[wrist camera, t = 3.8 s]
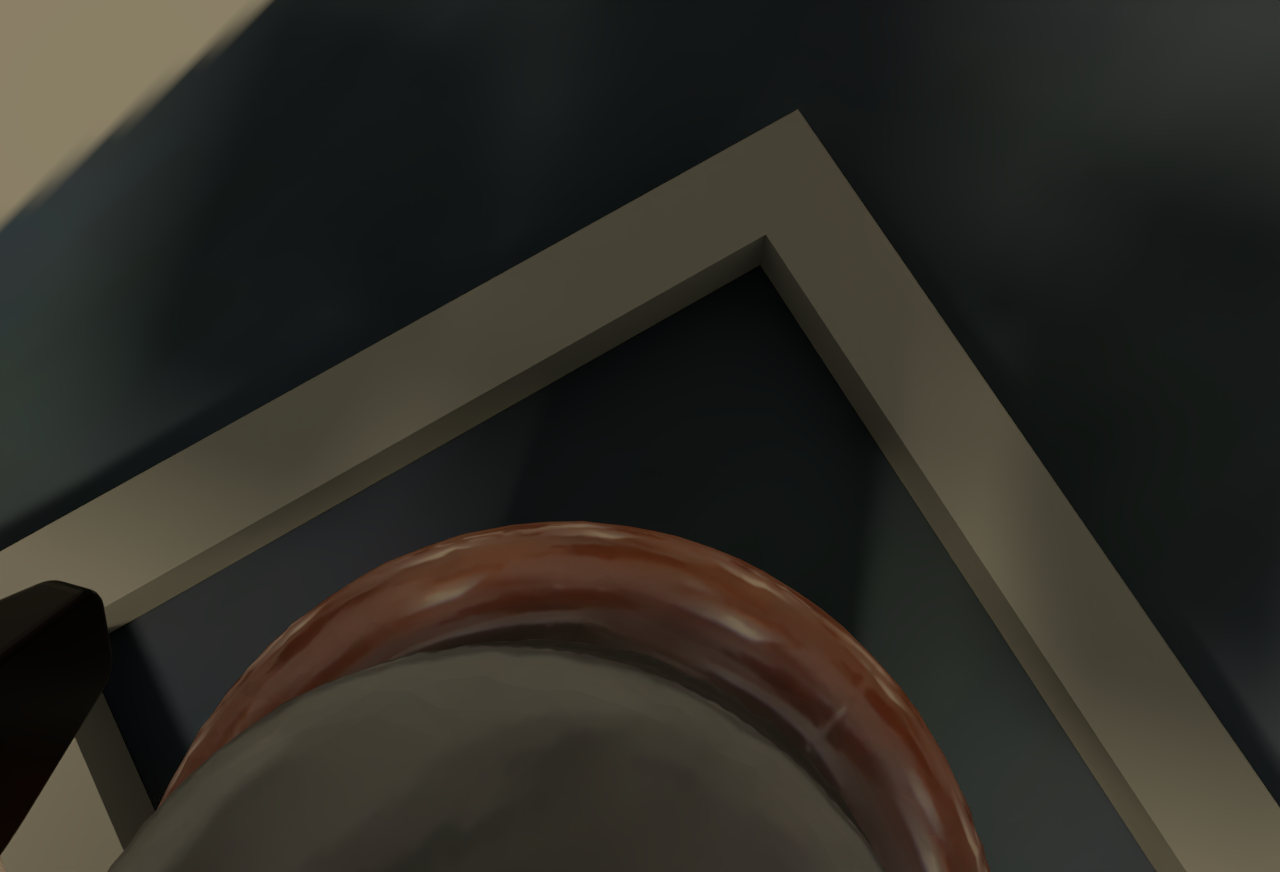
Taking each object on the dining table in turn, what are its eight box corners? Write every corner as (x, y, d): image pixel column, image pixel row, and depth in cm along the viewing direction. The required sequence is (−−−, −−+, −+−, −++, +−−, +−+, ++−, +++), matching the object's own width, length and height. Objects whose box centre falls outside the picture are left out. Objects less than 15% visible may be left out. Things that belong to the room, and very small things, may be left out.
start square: (1383, 1019, 14) (1446, 1049, 13) (398, 1675, 13) (370, 1775, 12) (790, 148, 17) (798, 108, 16) (-44, 611, 16) (-101, 607, 15)
